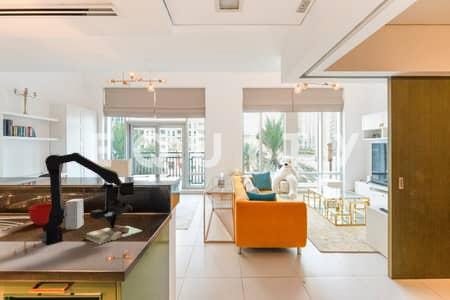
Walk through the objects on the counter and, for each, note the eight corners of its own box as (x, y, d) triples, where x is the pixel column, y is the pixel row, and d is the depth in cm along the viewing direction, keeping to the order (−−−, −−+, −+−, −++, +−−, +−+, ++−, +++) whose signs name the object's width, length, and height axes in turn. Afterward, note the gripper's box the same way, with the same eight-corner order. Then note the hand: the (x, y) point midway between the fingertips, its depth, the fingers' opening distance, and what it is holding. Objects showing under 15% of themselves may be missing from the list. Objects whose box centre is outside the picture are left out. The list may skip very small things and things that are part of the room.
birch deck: (99, 244, 115) (99, 238, 114) (85, 238, 121) (85, 233, 121) (121, 237, 123) (121, 232, 123) (107, 232, 130) (107, 227, 130)
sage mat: (123, 237, 124) (123, 236, 124) (108, 232, 131) (108, 231, 131) (142, 231, 133) (142, 230, 133) (127, 226, 140) (127, 225, 140)
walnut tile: (116, 231, 124) (117, 226, 124) (109, 228, 127) (110, 224, 128) (128, 232, 129) (129, 228, 130) (121, 230, 133) (122, 226, 133)
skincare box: (77, 229, 134) (77, 201, 134) (65, 229, 134) (65, 201, 133) (83, 224, 143) (84, 198, 143) (72, 225, 142) (72, 198, 142)
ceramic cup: (67, 219, 153) (67, 202, 153) (44, 228, 136) (44, 209, 136) (47, 218, 155) (47, 201, 154) (22, 226, 138) (22, 208, 138)
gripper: (102, 202, 113) (102, 237, 113) (138, 195, 128) (138, 226, 128) (89, 199, 120) (89, 232, 120) (125, 193, 135) (125, 222, 135)
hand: (111, 228), depth 126 cm, fingers closed
